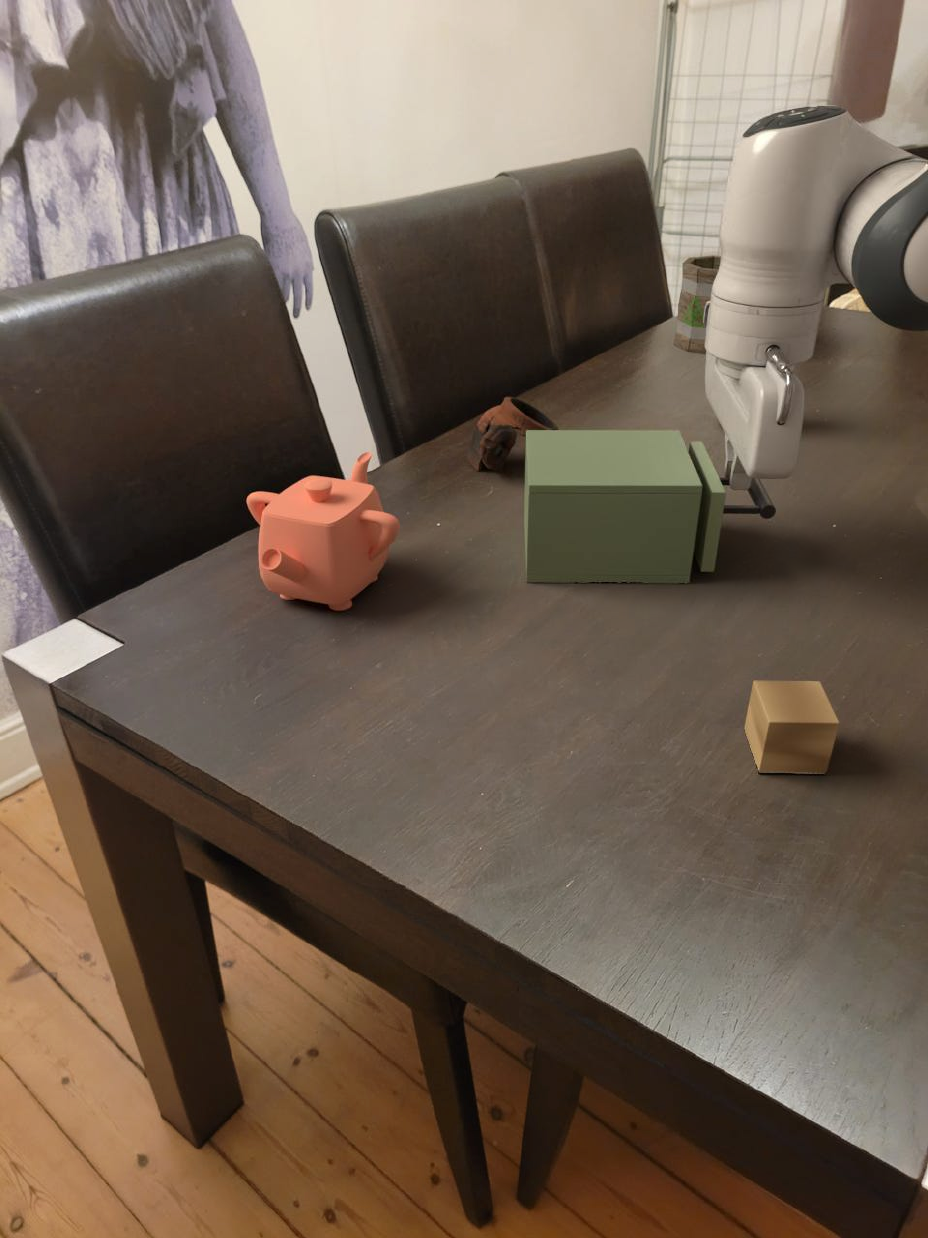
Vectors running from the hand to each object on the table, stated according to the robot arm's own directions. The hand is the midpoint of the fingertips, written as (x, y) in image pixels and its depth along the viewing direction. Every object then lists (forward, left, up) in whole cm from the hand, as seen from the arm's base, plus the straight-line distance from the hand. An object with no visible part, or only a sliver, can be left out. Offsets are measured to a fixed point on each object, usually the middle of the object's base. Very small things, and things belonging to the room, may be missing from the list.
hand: (736, 483), depth 84 cm
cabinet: (+12, 0, -7) cm, 14 cm away
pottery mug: (+21, -20, -7) cm, 30 cm away
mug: (-12, -65, -7) cm, 67 cm away
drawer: (+6, 0, -6) cm, 9 cm away
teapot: (+37, +7, -7) cm, 38 cm away
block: (+2, +29, -7) cm, 30 cm away
